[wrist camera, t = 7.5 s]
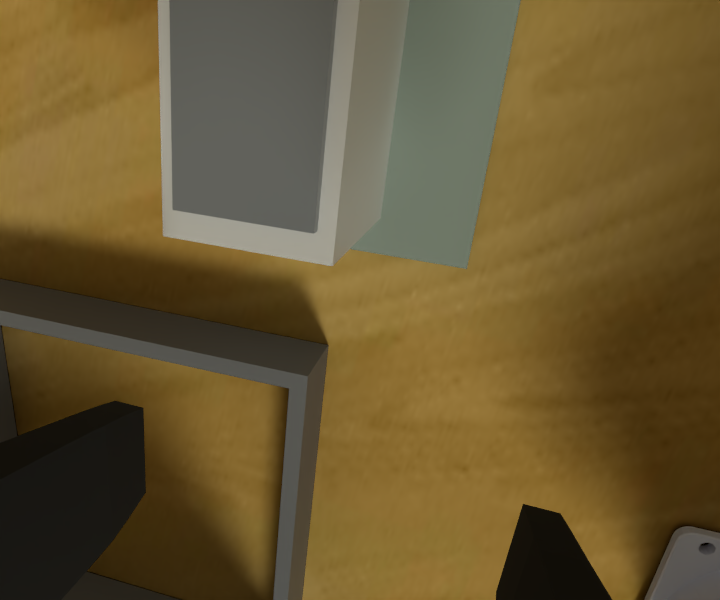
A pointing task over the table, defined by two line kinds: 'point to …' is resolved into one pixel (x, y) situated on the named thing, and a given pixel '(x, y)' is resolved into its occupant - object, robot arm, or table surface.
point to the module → (277, 121)
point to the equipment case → (203, 351)
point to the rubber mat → (443, 128)
